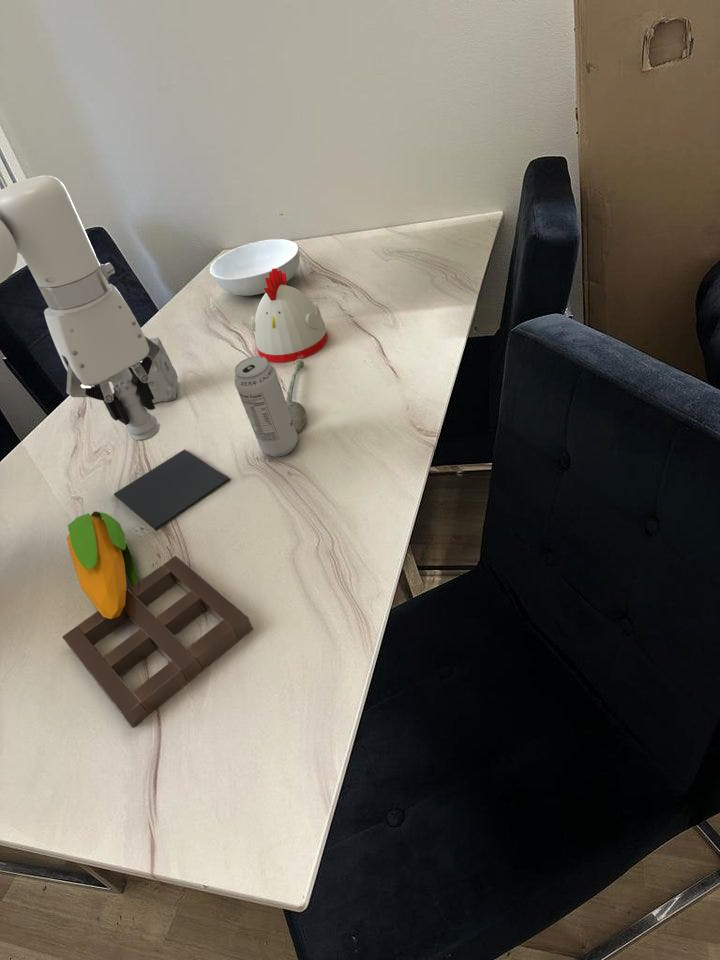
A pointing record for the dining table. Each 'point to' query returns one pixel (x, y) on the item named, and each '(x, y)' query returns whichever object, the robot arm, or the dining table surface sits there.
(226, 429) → the dining table surface
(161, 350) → the grey block
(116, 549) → the corn
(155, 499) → the coaster
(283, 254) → the serving bowl
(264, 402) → the energy drink can
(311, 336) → the kitchen timer
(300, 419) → the soupspoon
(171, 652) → the window frame
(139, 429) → the rook chess piece
